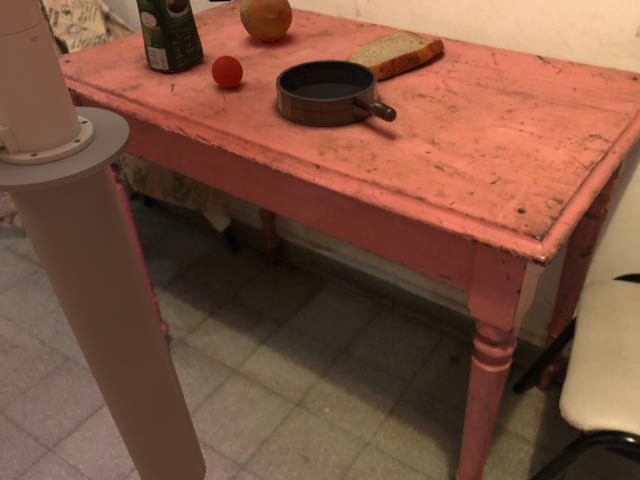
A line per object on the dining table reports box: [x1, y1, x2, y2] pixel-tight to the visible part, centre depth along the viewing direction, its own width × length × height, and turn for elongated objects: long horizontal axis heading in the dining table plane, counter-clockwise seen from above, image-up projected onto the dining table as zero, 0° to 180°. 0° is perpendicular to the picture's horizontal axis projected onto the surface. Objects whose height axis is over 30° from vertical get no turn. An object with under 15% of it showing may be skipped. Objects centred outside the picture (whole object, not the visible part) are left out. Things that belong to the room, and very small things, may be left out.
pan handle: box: [354, 94, 398, 123], centre depth 83 cm, size 2×8×2 cm, turn 40°
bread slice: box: [346, 29, 445, 81], centre depth 102 cm, size 18×18×4 cm
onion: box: [239, 0, 293, 43], centre depth 110 cm, size 10×10×10 cm
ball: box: [211, 55, 244, 89], centre depth 95 cm, size 5×5×5 cm
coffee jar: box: [135, 0, 205, 73], centre depth 99 cm, size 10×8×19 cm
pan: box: [275, 59, 379, 127], centre depth 90 cm, size 15×15×4 cm
